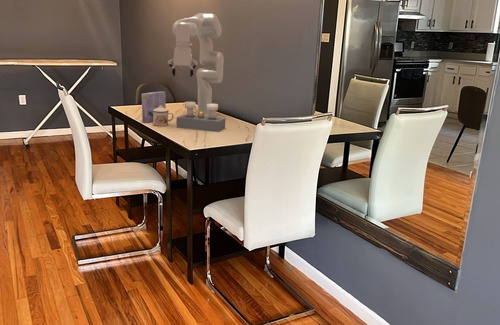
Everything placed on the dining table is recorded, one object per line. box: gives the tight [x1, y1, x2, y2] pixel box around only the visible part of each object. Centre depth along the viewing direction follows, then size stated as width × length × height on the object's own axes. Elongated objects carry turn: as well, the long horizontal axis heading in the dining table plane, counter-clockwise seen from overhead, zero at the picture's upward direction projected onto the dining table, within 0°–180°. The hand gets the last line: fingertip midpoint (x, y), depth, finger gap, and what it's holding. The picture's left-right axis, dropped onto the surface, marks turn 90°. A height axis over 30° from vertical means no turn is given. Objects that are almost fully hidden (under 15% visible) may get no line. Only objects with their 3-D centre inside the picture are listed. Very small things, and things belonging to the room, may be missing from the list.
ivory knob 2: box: [207, 103, 219, 120], centre depth 267 cm, size 6×6×9 cm
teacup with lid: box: [153, 105, 174, 127], centre depth 274 cm, size 12×9×12 cm
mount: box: [176, 113, 226, 133], centre depth 271 cm, size 12×26×6 cm, turn 73°
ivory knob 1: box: [184, 101, 197, 118], centre depth 271 cm, size 6×6×9 cm
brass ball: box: [197, 111, 204, 118], centre depth 270 cm, size 4×4×4 cm
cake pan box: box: [141, 91, 167, 124], centre depth 285 cm, size 19×5×18 cm, turn 152°
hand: (182, 76), depth 262 cm, fingers open, 9 cm apart
